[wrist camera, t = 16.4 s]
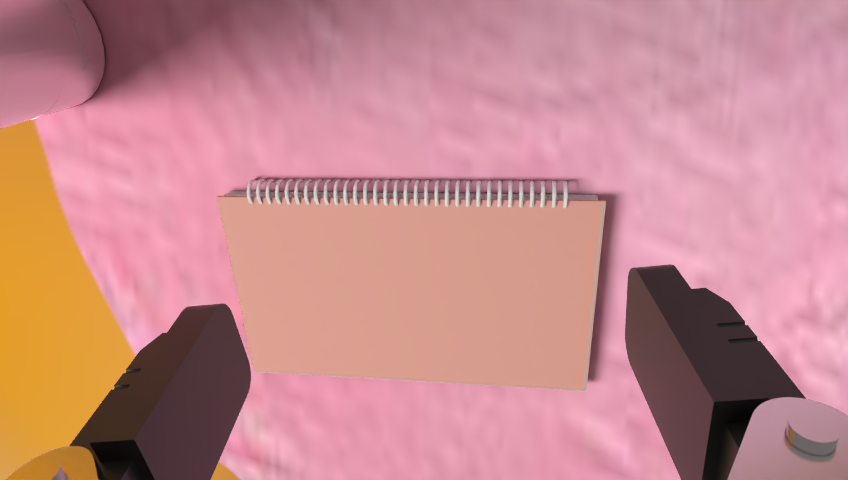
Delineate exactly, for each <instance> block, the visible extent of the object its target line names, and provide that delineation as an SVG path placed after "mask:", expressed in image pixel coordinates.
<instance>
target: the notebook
mask: <svg viewBox="0 0 848 480" xmlns="http://www.w3.org/2000/svg"><path fill="white" fill-rule="evenodd" d="M254 181H257V180H256V179H252V180H251V181H249V184H248V186H247V191H230V192H228V193H227V194H225V195H224V196H217V201H218V205H219V210H220V215H221V219H222V224H223V229H224V233H225V238H226V243H227V247H228V252H229V257H230V261H231V266H232V271H233V275H234V280H235V285H236V289H237V294H238V299H239V303H240V308H241V313H242V317H243V322H244V327H245V332H246V336H247V341H248V346H249V350H250V355H251V360H252V364H253V369H254V372H265V373H282V374H299V375H316V376H333V377H351V378H368V379H385V380H402V381H419V382H436V383H453V384H470V385H487V386H505V387H522V388H539V389H556V390H573V391H586V389H587V380H588V370H589V360H590V351H591V341H592V331H593V322H594V312H595V303H596V293H597V283H598V274H599V264H600V254H601V245H602V235H603V225H604V216H605V206H606V200H599V199H598V197H597V194H568V183H567V181H563V183H564V194H557V186H556V181H552V194H545V181H541V194H534V181H530V194H523V181H519V194H513V181H511V180H510V181H509V194H505V193H502V181H500V180H499V181H498V193H491V183H492V181H490V180H489V181H488V182H487V193H480V191H481V181H480V180H478V181H477V192H476V193H470V183H471V181H469V180H468V181H467V183H466V193H459V188H460V182H461V181H459V180H458V181H456V191H455V193H449V184H450V181H449V180H447V181H446V184H445V193H438V191H439V182H440V181H439V180H437V181H436V182H435V193H428V186H429V182H430V181H429V180H427V181H425V187H424V193H418V184H419V182H420V181H419V180H416V181H415V185H414V193H407V192H408V183H409V182H410V180H406V181H405V184H404V193H402V192H397V188H398V183H399V182H400V180H396V181H395V184H394V192H387V187H388V182H390V180H386V181H385V183H384V190H383V192H377V186H378V183H379V182H380V180H376V181H375V183H374V189H373V192H367V186H368V183H369V182H370V181H371V180H366V181H365V183H364V189H363V192H357V186H358V183H359V182H361V180H356V181H355V184H354V187H353V192H347V187H348V183H349V182H351V180H349V179H348V180H346V181H345V184H344V190H343V192H337V187H338V183H339V182H341V181H342V180H339V179H338V180H337V181H336V182H335V184H334V192H327V189H328V184H329V182H332V180H327V181H326V182H325V185H324V192H318V185H319V182H320V181H321V182H322V180H320V179H319V180H317V181H316V183H315V186H314V192H308V186H309V183H310V181H312V182H313V180H311V179H309V180H308V181H307V182H306V184H305V187H304V192H299V191H298V188H299V184H300V182H302V181H304V180H301V179H300V180H298V181H297V182H296V185H295V189H294V191H288V189H289V186H290V182H291V181H294V180H292V179H290V180H289V181H287V183H286V186H285V191H279V187H280V183H281V182H282V181H285V180H283V179H280V180H279V181H278V182H277V185H276V187H275V191H269V189H270V184H271V182H272V181H276V180H274V179H270V180H269V181H268V183H267V186H266V191H260V186H261V184H262V182H263V181H266V180H265V179H262V180H260V181H259V182H258V184H257V187H256V191H251V185H252V183H253V182H254Z"/></svg>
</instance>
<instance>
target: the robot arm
mask: <svg viewBox="0 0 848 480" xmlns="http://www.w3.org/2000/svg"><path fill="white" fill-rule="evenodd" d="M104 65H105V57H104V47H103V43H102V39H101V35H100V32H99V29H98V27H97V25H96V22H95V20H94V18H93V16H92V15H91V13H90V12H89V10H88V8H87V7H86V5H85V4H84V2H83V1H82V0H0V129H1V128H4V127H8V126H11V125H14V124H18V123H21V122H24V121H28V120H32V119H35V118H38V117H41V116H45V115H48V114H51V113H55V112H58V111H61V110H65V109H68V108H71V107H74V106H77V105H79V104H82V103H84V102H85V101H86V100H88V99H89V98H90V97H92V95H93V94H94V93H95V91H96V90H97V89H98V87H99V85H100V82H101V80H102V77H103V72H104ZM625 341H626V349H627V354H628V358H629V362H630V365H631V367H632V369H633V372H634V374H635V376H636V378H637V381H638V383H639V385H640V387H641V390H642V392H643V394H644V396H645V399H646V401H647V403H648V405H649V408H650V410H651V412H652V414H653V417H654V419H655V421H656V424H657V426H658V428H659V430H660V433H661V435H662V437H663V439H664V442H665V444H666V446H667V448H668V451H669V453H670V455H671V457H672V460H673V462H674V464H675V466H676V469H677V471H678V473H679V475H680V478H681V480H848V415H846V414H844V413H843V412H841V411H839V410H837V409H835V408H833V407H831V406H828V405H825V404H823V403H820V402H816V401H813V400H809V399H806V398H805V397H804V395H803V394H802V393H801V392H800V390H799V389H798V388H797V387H796V385H795V384H794V383H793V382H792V380H791V379H790V378H789V377H788V375H787V374H786V373H785V372H784V370H783V369H782V368H781V367H780V365H779V364H778V363H777V362H776V360H775V359H774V358H773V356H772V355H771V354H770V353H769V351H768V350H767V349H766V348H765V346H764V345H763V344H762V343H761V341H758V340H757V336H756V335H755V334H754V333H753V331H752V330H751V329H750V328H749V326H748V325H745V321H744V320H743V319H742V317H741V316H740V315H739V314H738V312H737V311H736V310H735V309H734V307H733V306H732V305H731V304H730V303H729V302H728V301H726V300H724V299H723V298H721V297H720V296H718V295H716V294H715V293H713V292H711V291H710V290H708V289H707V288H699V289H691V288H690V287H689V285H688V284H687V282H686V281H685V280H684V278H683V277H682V275H681V274H680V273H679V271H678V270H677V268H676V267H675V266H674V265H660V266H649V267H638V268H631V269H630V271H629V275H628V289H627V308H626V327H625ZM250 381H251V371H250V364H249V361H248V358H247V355H246V352H245V349H244V346H243V343H242V340H241V338H240V335H239V332H238V329H237V326H236V323H235V320H234V317H233V315H232V312H231V310H230V308H229V307H228V306H227V305H226V304H213V305H202V306H190V307H186V308H185V309H184V310H183V311H182V312H181V314H180V315H179V317H178V318H177V319H176V321H175V322H174V324H173V325H172V327H171V328H170V329H169V331H168V332H167V333H162V334H161V335H159V336H158V337H157V338H156V339H154V340H153V341H152V342H151V343H149V344H148V345H147V346H146V347H144V348H143V349H142V350H140V352H139V353H138V354H137V356H136V357H135V359H134V360H133V361H132V362H131V364H130V365H129V367H128V368H127V369H126V373H124V374H123V375H122V376H121V377H120V379H119V380H118V381H117V383H116V384H115V385H114V386H115V388H114V390H111V391H110V392H109V393H108V395H107V396H106V398H105V399H104V400H103V401H102V403H101V404H100V405H99V407H98V408H97V410H96V411H95V412H94V414H93V415H92V416H91V418H90V419H89V420H88V422H87V423H86V424H85V426H84V427H83V428H82V430H81V431H80V432H79V434H78V435H77V436H76V438H75V439H74V440H73V442H72V443H71V444H70V446H67V447H62V448H58V449H54V450H51V451H48V452H46V453H44V454H41V455H40V456H38V457H36V458H34V459H32V460H30V461H29V462H27V463H25V464H24V465H23V466H21V467H20V468H18V469H17V470H16V471H15V472H14V473H12V474H11V475H10V476H9V477H8V478H7V479H6V480H210V479H211V477H212V475H213V473H214V470H215V468H216V466H217V463H218V461H219V459H220V457H221V454H222V452H223V450H224V447H225V445H226V443H227V440H228V438H229V436H230V433H231V431H232V429H233V427H234V424H235V422H236V420H237V417H238V415H239V413H240V410H241V408H242V406H243V404H244V401H245V399H246V397H247V394H248V392H249V388H250Z"/></svg>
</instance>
